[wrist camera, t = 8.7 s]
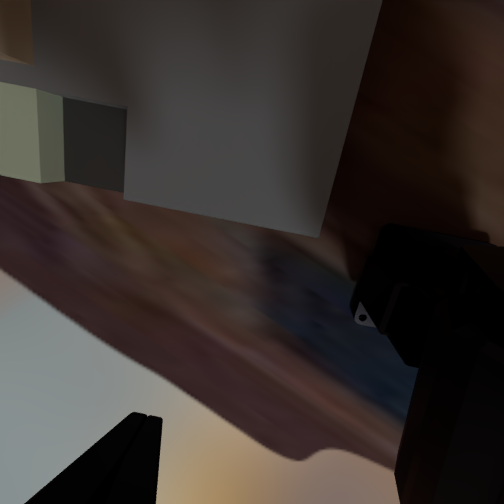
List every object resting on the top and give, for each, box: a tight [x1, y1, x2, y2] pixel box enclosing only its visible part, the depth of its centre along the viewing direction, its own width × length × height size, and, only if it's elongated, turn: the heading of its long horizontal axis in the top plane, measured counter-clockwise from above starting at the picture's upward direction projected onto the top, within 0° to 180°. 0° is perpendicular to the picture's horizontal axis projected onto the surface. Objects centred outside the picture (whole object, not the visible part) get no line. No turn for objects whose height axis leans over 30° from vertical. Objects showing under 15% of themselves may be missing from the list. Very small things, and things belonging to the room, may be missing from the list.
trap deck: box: [0, 0, 383, 238], centre depth 14 cm, size 20×15×2 cm
